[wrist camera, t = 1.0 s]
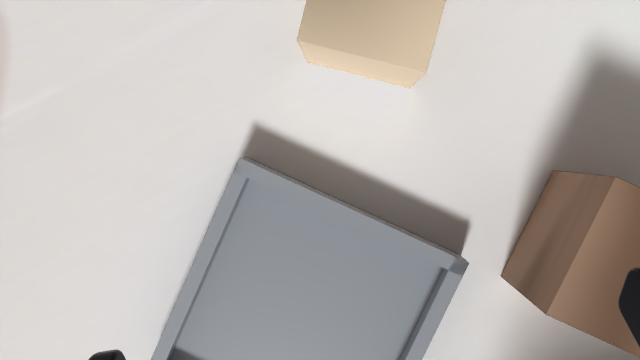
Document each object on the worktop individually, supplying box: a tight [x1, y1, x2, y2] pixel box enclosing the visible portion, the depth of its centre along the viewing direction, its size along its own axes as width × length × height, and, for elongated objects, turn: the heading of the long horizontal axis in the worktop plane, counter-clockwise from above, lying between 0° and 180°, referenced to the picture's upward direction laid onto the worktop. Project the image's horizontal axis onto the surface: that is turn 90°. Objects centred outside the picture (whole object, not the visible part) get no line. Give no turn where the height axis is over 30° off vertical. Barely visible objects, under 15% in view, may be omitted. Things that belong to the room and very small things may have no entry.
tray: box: [151, 157, 469, 360], centre depth 21 cm, size 10×10×1 cm
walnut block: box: [501, 170, 640, 357], centre depth 18 cm, size 5×5×5 cm
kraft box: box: [297, 0, 446, 88], centre depth 19 cm, size 4×4×4 cm
